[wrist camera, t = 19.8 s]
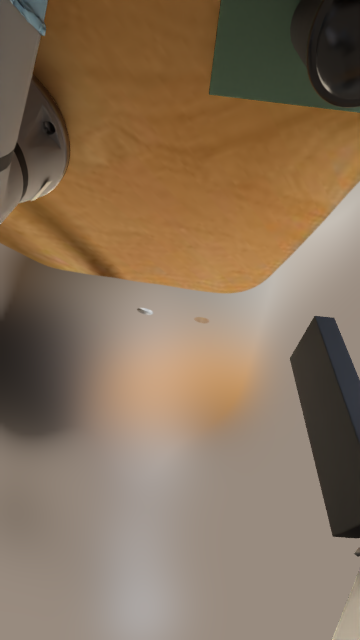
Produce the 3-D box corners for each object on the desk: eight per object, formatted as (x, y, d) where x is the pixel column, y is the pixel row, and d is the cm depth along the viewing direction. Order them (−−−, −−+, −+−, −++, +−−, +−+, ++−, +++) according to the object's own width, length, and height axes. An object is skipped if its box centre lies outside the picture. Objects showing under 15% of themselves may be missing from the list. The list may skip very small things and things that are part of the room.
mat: (370, 113, 34) (372, 114, 34) (208, 93, 34) (209, 94, 33) (457, -77, 25) (460, -78, 25) (234, -108, 24) (235, -110, 24)
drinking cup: (260, 9, 29) (315, 22, 15) (348, -69, 25) (527, -146, 11) (291, 92, 33) (356, 163, 19) (370, 36, 29) (518, 72, 16)
